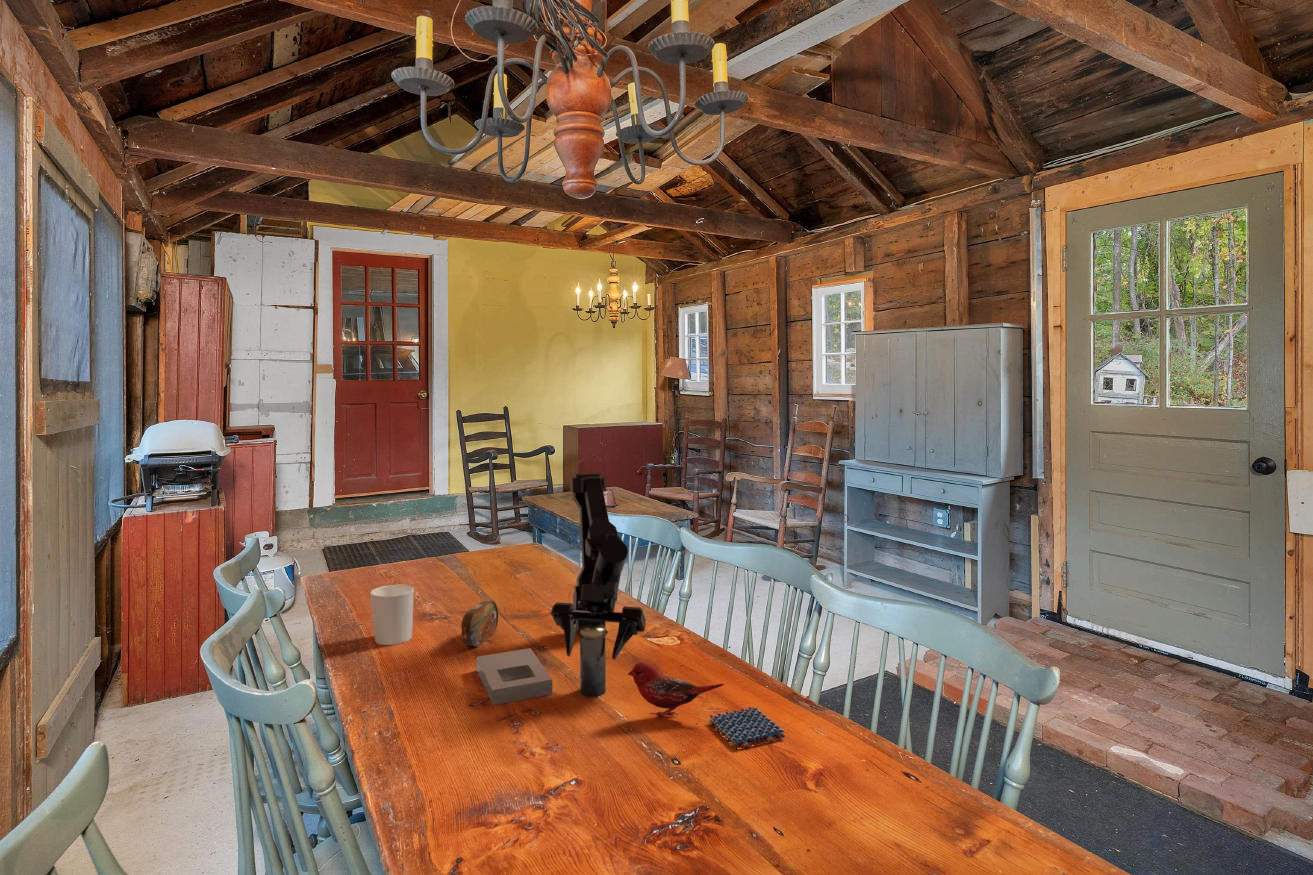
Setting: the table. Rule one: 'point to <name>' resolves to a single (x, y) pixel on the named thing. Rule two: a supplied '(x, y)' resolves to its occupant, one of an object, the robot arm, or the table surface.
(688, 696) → the decorative bird figurine
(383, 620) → the white paper cup
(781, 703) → the table surface
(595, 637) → the end plug
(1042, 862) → the table surface
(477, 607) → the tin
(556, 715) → the table surface
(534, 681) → the housing block
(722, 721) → the woven mat
